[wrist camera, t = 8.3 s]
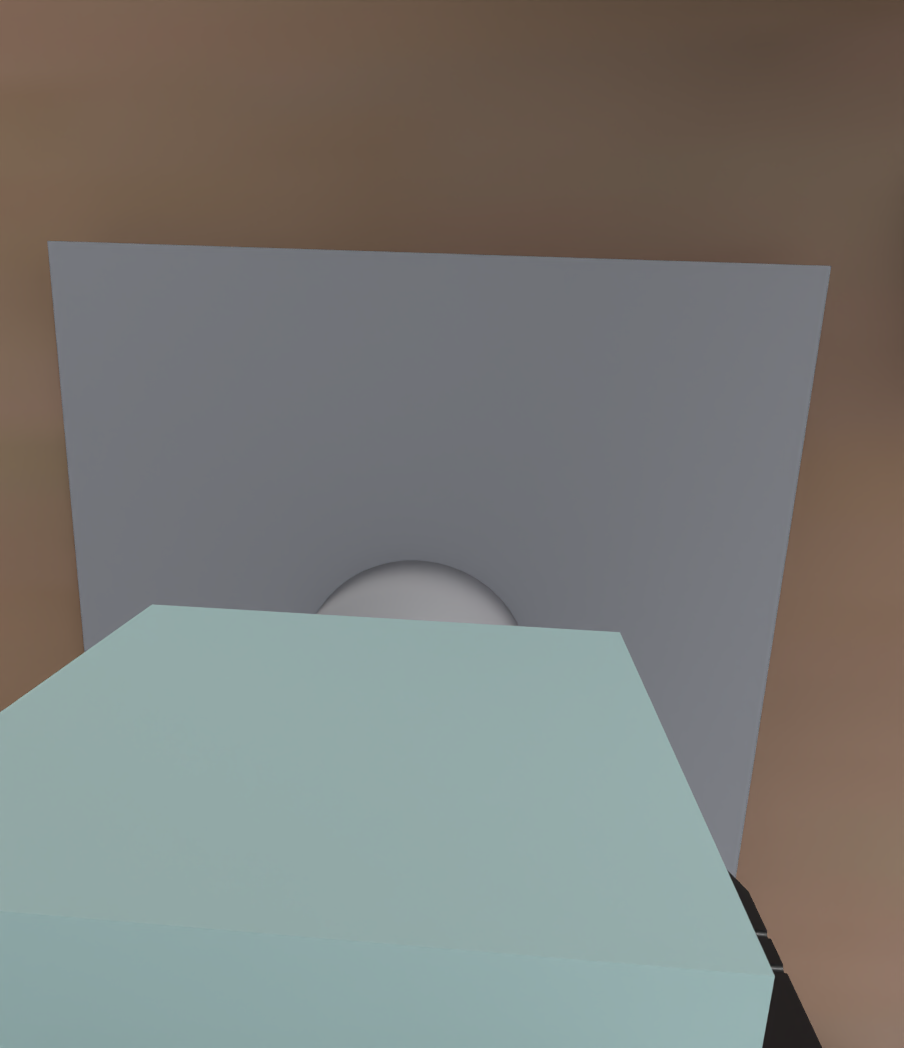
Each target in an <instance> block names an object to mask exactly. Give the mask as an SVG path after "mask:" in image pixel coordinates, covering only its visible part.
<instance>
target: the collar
mask: <svg viewBox="0 0 904 1048" xmlns="http://www.w3.org/2000/svg"><path fill="white" fill-rule="evenodd" d="M774 978H775V975H774V973H773V971H772V969H771V967H770V964H769V962H768V960H767V958H766V955H765V953H764V951H763V949H762V947H761V944H760V942H759V940H758V938H757V935H756V933H755V931H754V929H753V927H752V924H751V922H750V920H749V918H748V915H747V913H746V911H745V909H744V907H743V904H742V902H741V900H740V898H739V895H738V893H737V891H736V889H735V887H734V884H733V882H732V880H731V878H730V876H729V873H728V871H727V869H726V867H725V864H724V862H723V860H722V858H721V856H720V853H719V851H718V849H717V847H716V844H715V842H714V840H713V838H712V836H711V833H710V831H709V829H708V827H707V824H706V822H705V820H704V818H703V816H702V813H701V811H700V809H699V807H698V804H697V802H696V800H695V798H694V796H693V793H692V791H691V789H690V787H689V784H688V782H687V780H686V778H685V776H684V773H683V771H682V769H681V767H680V765H679V762H678V760H677V758H676V756H675V753H674V751H673V749H672V747H671V745H670V742H669V740H668V738H667V736H666V733H665V731H664V729H663V727H662V725H661V722H660V720H659V718H658V716H657V713H656V711H655V709H654V707H653V705H652V702H651V700H650V698H649V696H648V693H647V691H646V689H645V687H644V685H643V682H642V680H641V678H640V676H639V674H638V671H637V669H636V667H635V665H634V662H633V660H632V658H631V656H630V654H629V651H628V649H627V647H626V645H625V642H624V640H623V638H622V636H621V634H620V632H609V631H592V630H575V629H558V628H541V627H525V626H508V625H491V624H474V623H457V622H440V621H423V620H407V619H390V618H373V617H356V616H339V615H322V614H305V613H289V612H272V611H255V610H238V609H221V608H204V607H187V606H171V605H154V604H152V605H151V606H149V607H148V608H146V609H145V610H143V611H142V612H141V613H139V614H138V615H136V616H135V617H134V618H132V619H131V620H129V621H128V622H127V623H125V624H124V625H122V626H121V627H120V628H118V629H117V630H115V631H114V632H113V633H111V634H110V635H108V636H107V637H105V638H104V639H103V640H101V641H100V642H98V643H97V644H96V645H94V646H93V647H91V648H90V649H89V650H87V651H86V652H84V653H83V654H82V655H80V656H79V657H77V658H76V659H75V660H73V661H72V662H70V663H69V664H67V665H66V666H65V667H63V668H62V669H60V670H59V671H58V672H56V673H55V674H53V675H52V676H51V677H49V678H48V679H46V680H45V681H44V682H42V683H41V684H39V685H38V686H37V687H35V688H34V689H32V690H31V691H29V692H28V693H27V694H25V695H24V696H22V697H21V698H20V699H18V700H17V701H15V702H14V703H13V704H11V705H10V706H8V707H7V708H6V709H4V710H3V711H1V712H0V1048H762V1046H763V1040H764V1034H765V1029H766V1023H767V1017H768V1012H769V1006H770V1001H771V995H772V989H773V984H774Z"/></svg>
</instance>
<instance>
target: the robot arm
mask: <svg viewBox="0 0 904 1048" xmlns="http://www.w3.org/2000/svg"><path fill="white" fill-rule="evenodd" d="M727 871H728V870H727ZM728 873H729V876H730V878H731V880H732V882H733V884H734V887H735V889H736V891H737V893H738V895H739V898H740V900H741V902H742V904H743V907H744V909H745V911H746V913H747V915H748V918H749V920H750V922H751V924H752V927H753V929H754V931H755V933H756V935H757V938H758V940H759V942H760V944H761V947H762V949H763V951H764V953H765V955H766V958H767V960H768V962H769V964H770V967H771V969H772V971H773V973H774V975H775V978H774V984H773V989H772V995H771V1001H770V1006H769V1012H768V1017H767V1023H766V1029H765V1034H764V1040H763V1046H762V1048H822V1046H821V1044H820V1042H819V1040H818V1038H817V1036H816V1034H815V1032H814V1029H813V1027H812V1025H811V1023H810V1021H809V1019H808V1017H807V1015H806V1013H805V1010H804V1008H803V1006H802V1004H801V1002H800V1000H799V998H798V996H797V993H796V991H795V989H794V987H793V985H792V983H791V981H790V979H789V976H788V974H787V973H784V971H783V964H782V962H781V960H780V957H779V955H778V953H777V951H776V949H775V947H774V945H773V943H772V940H771V939H768V937H767V930H766V928H765V926H764V923H763V921H762V919H761V917H760V915H759V913H758V911H757V909H756V907H755V904H754V902H753V900H752V898H751V896H750V894H749V892H748V891H747V890H746V889H745V888H744V887H743V886H742V885H741V884H740V882H739V881H738V880H737V879H736V878H735V877H734V876H733V875H732V874H731V873H730V872H729V871H728Z"/></svg>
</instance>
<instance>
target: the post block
mask: <svg viewBox="0 0 904 1048" xmlns="http://www.w3.org/2000/svg"><path fill="white" fill-rule="evenodd" d="M48 252H49V263H50V275H51V286H52V297H53V308H54V319H55V330H56V341H57V352H58V363H59V374H60V385H61V396H62V407H63V418H64V430H65V441H66V452H67V463H68V474H69V485H70V496H71V507H72V518H73V529H74V540H75V551H76V562H77V573H78V585H79V596H80V607H81V618H82V629H83V640H84V651H85V652H86V651H87V650H89V649H90V648H91V647H93V646H94V645H96V644H97V643H98V642H100V641H101V640H103V639H104V638H105V637H107V636H108V635H110V634H111V633H113V632H114V631H115V630H117V629H118V628H120V627H121V626H122V625H124V624H125V623H127V622H128V621H129V620H131V619H132V618H134V617H135V616H136V615H138V614H139V613H141V612H142V611H143V610H145V609H146V608H148V607H149V606H151V605H152V604H154V605H171V606H187V607H204V608H221V609H238V610H255V611H272V612H289V613H305V614H322V615H339V616H356V617H373V618H390V619H407V620H423V621H440V622H457V623H474V624H491V625H508V626H525V627H541V628H558V629H575V630H592V631H609V632H620V634H621V636H622V638H623V640H624V642H625V645H626V647H627V649H628V651H629V654H630V656H631V658H632V660H633V662H634V665H635V667H636V669H637V671H638V674H639V676H640V678H641V680H642V682H643V685H644V687H645V689H646V691H647V693H648V696H649V698H650V700H651V702H652V705H653V707H654V709H655V711H656V713H657V716H658V718H659V720H660V722H661V725H662V727H663V729H664V731H665V733H666V736H667V738H668V740H669V742H670V745H671V747H672V749H673V751H674V753H675V756H676V758H677V760H678V762H679V765H680V767H681V769H682V771H683V773H684V776H685V778H686V780H687V782H688V784H689V787H690V789H691V791H692V793H693V796H694V798H695V800H696V802H697V804H698V807H699V809H700V811H701V813H702V816H703V818H704V820H705V822H706V824H707V827H708V829H709V831H710V833H711V836H712V838H713V840H714V842H715V844H716V847H717V849H718V851H719V853H720V856H721V858H722V860H723V862H724V864H725V867H726V869H727V870H728V871H729V872H730V873H731V874H732V875H733V876H734V877H735V878H736V872H737V866H738V859H739V853H740V847H741V840H742V834H743V827H744V821H745V815H746V808H747V802H748V795H749V789H750V783H751V776H752V770H753V763H754V757H755V751H756V744H757V738H758V731H759V725H760V719H761V712H762V706H763V699H764V693H765V687H766V680H767V674H768V667H769V661H770V655H771V648H772V642H773V635H774V629H775V623H776V616H777V610H778V603H779V597H780V591H781V584H782V578H783V571H784V565H785V559H786V552H787V546H788V539H789V533H790V526H791V520H792V514H793V507H794V501H795V494H796V488H797V482H798V475H799V469H800V462H801V456H802V450H803V443H804V437H805V430H806V424H807V418H808V411H809V405H810V398H811V392H812V386H813V379H814V373H815V366H816V360H817V354H818V347H819V341H820V334H821V328H822V322H823V315H824V309H825V302H826V296H827V290H828V283H829V277H830V270H831V266H816V265H785V264H754V263H723V262H691V261H660V260H629V259H597V258H566V257H535V256H504V255H472V254H441V253H410V252H378V251H347V250H316V249H284V248H253V247H222V246H191V245H159V244H128V243H97V242H65V241H48Z"/></svg>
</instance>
